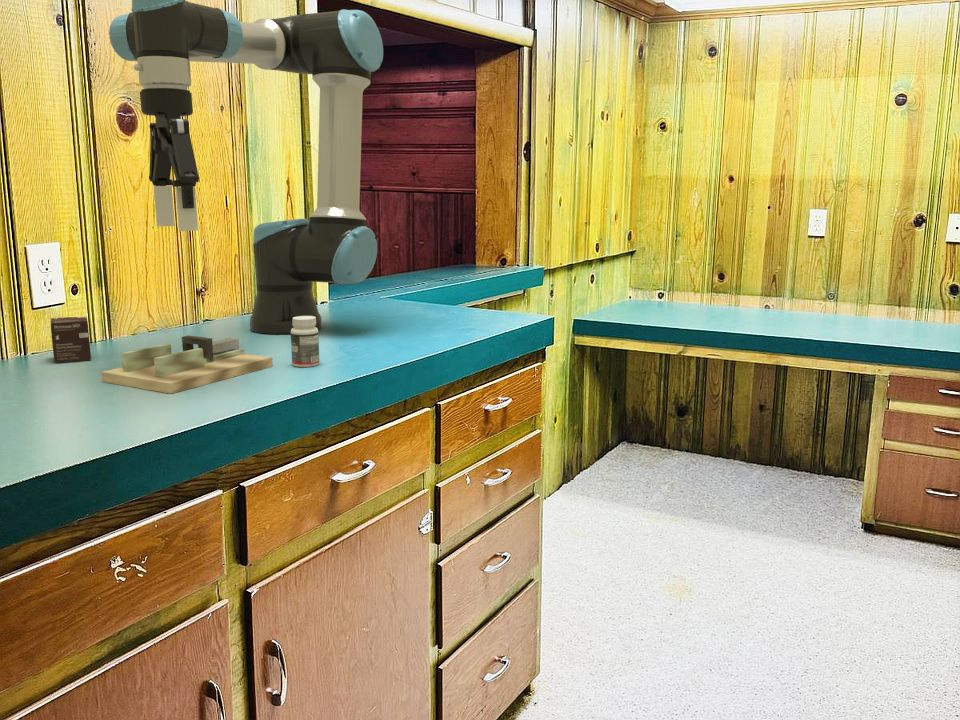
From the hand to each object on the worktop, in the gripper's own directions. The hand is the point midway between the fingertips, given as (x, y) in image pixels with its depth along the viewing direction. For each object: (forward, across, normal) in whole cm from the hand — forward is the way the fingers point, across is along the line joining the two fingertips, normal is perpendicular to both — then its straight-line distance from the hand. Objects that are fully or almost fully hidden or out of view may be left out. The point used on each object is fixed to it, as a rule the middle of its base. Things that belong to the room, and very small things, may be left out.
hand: (176, 228), depth 136 cm
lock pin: (+23, -6, +7) cm, 24 cm away
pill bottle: (+24, +2, +20) cm, 31 cm away
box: (+24, -26, -14) cm, 38 cm away
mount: (+24, -2, +1) cm, 24 cm away
